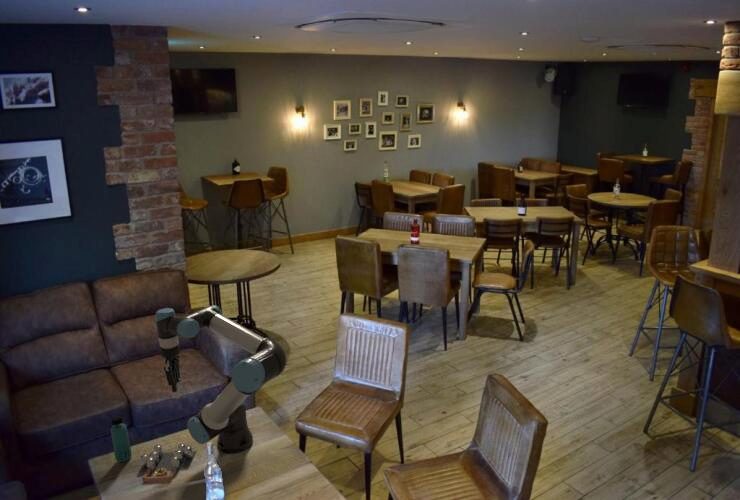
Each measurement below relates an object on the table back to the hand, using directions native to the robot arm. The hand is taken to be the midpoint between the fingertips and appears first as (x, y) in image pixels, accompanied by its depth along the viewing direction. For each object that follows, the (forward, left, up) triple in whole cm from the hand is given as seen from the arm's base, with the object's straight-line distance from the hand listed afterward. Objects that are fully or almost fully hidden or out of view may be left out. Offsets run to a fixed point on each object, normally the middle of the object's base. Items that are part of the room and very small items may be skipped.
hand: (176, 397), depth 245 cm
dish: (+3, +21, -24) cm, 32 cm away
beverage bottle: (+23, +7, -25) cm, 34 cm away
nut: (+3, +20, -24) cm, 31 cm away
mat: (+3, +11, -24) cm, 27 cm away
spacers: (+3, +12, -23) cm, 26 cm away
